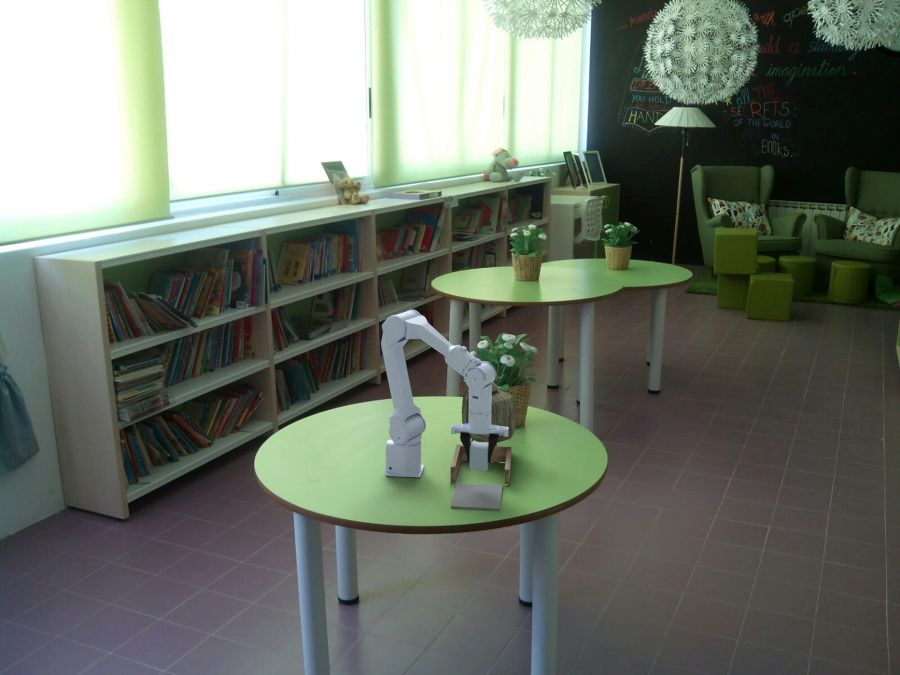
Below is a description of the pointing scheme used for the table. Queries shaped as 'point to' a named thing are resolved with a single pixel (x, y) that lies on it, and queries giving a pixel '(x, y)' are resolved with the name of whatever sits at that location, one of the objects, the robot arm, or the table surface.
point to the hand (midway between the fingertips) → (479, 460)
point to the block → (479, 456)
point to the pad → (477, 496)
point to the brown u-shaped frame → (497, 456)
